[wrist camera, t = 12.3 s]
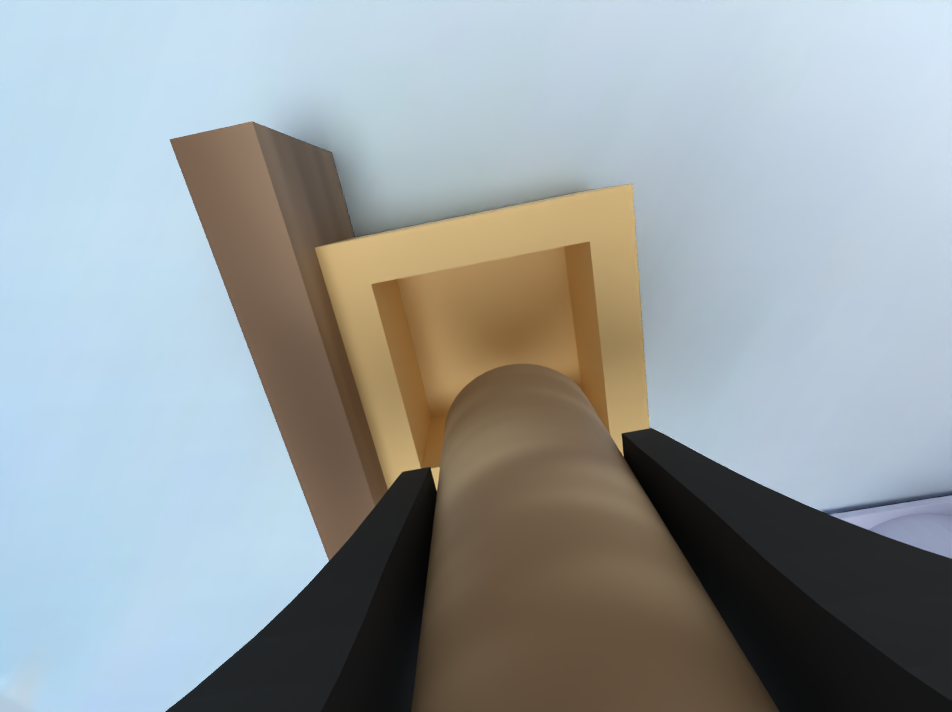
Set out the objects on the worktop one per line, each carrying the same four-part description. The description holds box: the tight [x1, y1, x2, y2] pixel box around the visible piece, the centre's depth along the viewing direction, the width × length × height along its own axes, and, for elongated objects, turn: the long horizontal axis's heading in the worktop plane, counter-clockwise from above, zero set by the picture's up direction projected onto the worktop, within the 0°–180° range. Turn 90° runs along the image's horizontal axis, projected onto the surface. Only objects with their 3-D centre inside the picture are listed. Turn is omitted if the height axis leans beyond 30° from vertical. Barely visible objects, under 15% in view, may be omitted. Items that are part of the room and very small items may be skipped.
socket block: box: [315, 184, 649, 490], centre depth 16 cm, size 9×9×4 cm
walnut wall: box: [170, 122, 388, 561], centre depth 15 cm, size 2×15×6 cm, turn 11°
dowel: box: [411, 364, 780, 712], centre depth 8 cm, size 4×4×8 cm
